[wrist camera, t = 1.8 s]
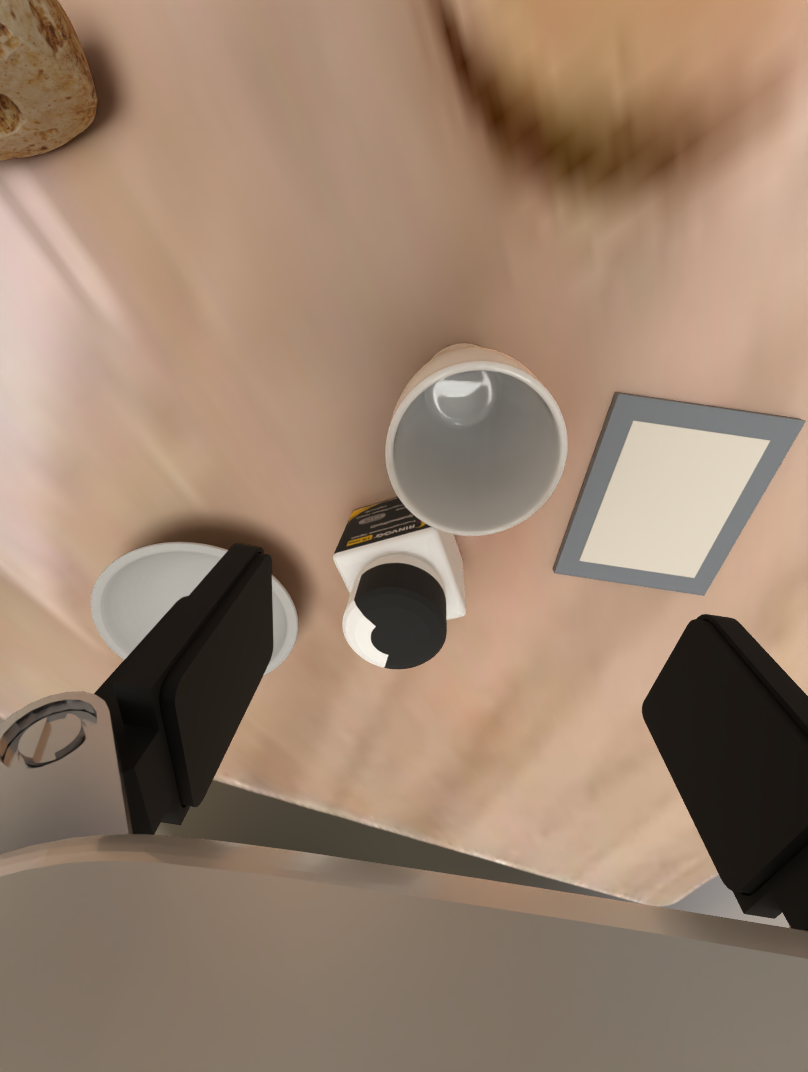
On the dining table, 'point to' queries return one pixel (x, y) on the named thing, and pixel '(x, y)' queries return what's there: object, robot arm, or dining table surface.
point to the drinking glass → (475, 442)
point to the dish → (169, 595)
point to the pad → (671, 491)
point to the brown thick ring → (41, 79)
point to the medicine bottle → (398, 585)
